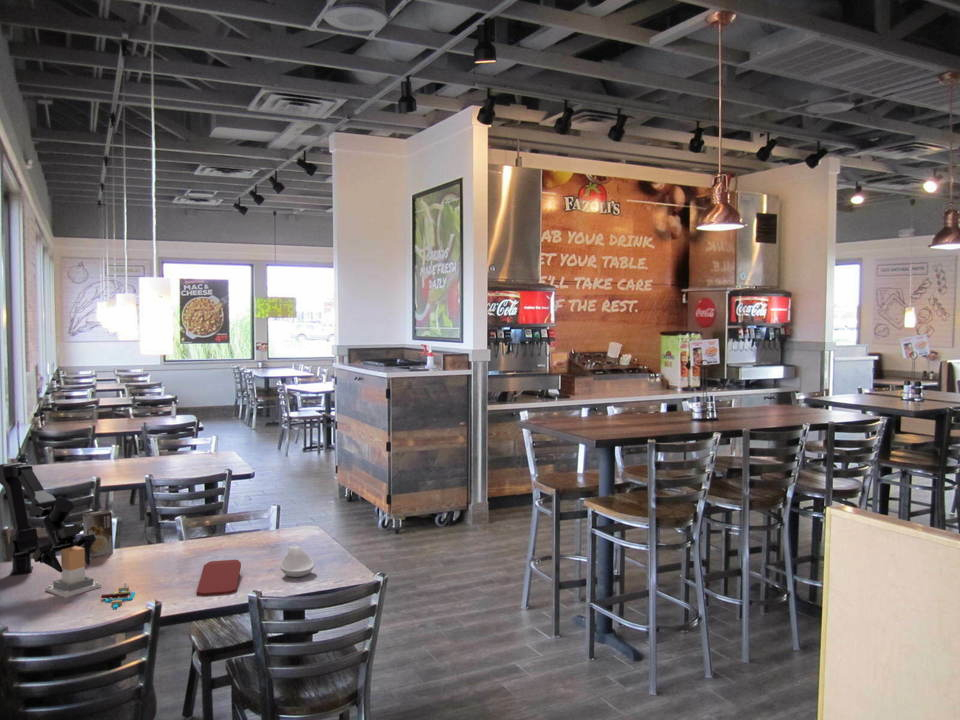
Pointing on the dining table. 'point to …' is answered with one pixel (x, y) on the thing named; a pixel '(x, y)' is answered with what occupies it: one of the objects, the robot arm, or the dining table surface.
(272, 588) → the dining table surface
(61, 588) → the socket plate
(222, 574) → the red rounded slab
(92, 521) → the coffee box
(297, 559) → the spoon rest
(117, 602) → the turquoise and red toy
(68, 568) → the orange and white block
